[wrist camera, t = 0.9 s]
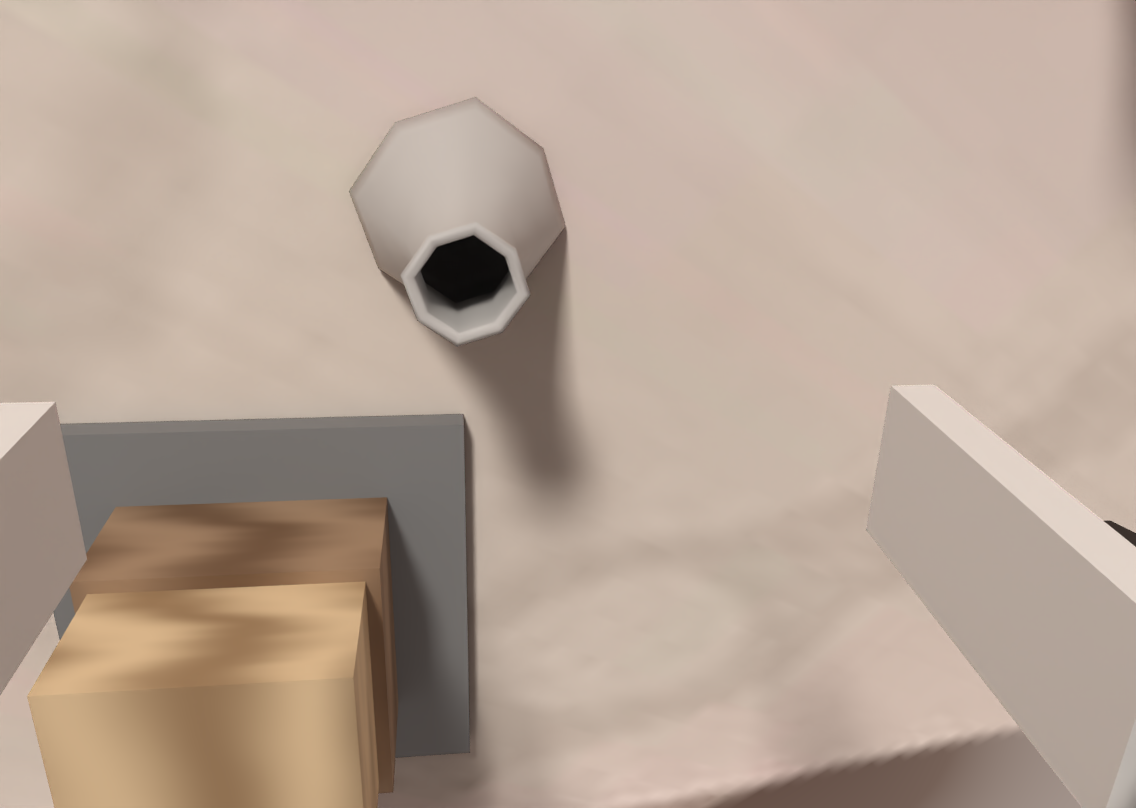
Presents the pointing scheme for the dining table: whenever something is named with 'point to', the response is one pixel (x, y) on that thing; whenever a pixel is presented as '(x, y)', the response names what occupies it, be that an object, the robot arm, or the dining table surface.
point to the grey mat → (317, 472)
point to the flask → (459, 216)
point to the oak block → (212, 700)
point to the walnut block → (260, 567)
